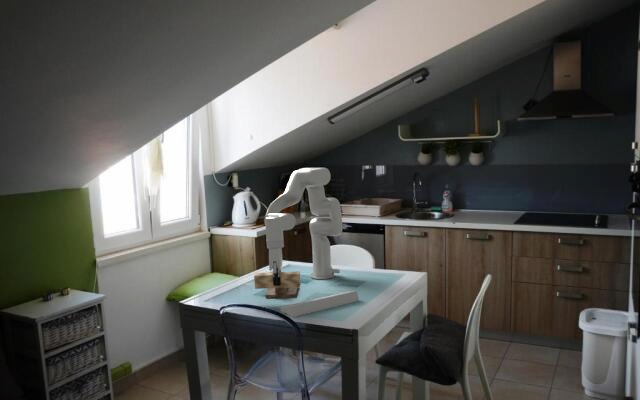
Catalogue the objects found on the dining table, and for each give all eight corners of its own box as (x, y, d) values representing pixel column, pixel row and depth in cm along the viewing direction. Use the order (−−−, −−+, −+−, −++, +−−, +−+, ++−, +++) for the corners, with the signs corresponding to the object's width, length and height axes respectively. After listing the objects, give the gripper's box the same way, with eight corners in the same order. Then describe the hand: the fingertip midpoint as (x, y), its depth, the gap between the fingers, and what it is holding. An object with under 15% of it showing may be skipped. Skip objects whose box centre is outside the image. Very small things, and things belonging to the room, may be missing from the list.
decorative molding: (281, 318, 222) (292, 318, 213) (279, 307, 222) (290, 306, 214) (346, 302, 240) (359, 301, 231) (344, 292, 240) (357, 290, 232)
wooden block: (300, 284, 234) (299, 271, 234) (299, 287, 230) (298, 273, 229) (256, 285, 235) (255, 273, 235) (255, 288, 231) (254, 275, 230)
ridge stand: (298, 287, 257) (297, 271, 256) (295, 297, 241) (294, 280, 240) (270, 288, 257) (269, 272, 256) (265, 298, 241) (264, 281, 240)
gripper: (269, 240, 239) (272, 278, 241) (263, 248, 222) (266, 289, 224) (285, 239, 238) (288, 278, 241) (281, 247, 222) (284, 289, 224)
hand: (277, 283), depth 233 cm, fingers closed on wooden block, 4 cm apart
